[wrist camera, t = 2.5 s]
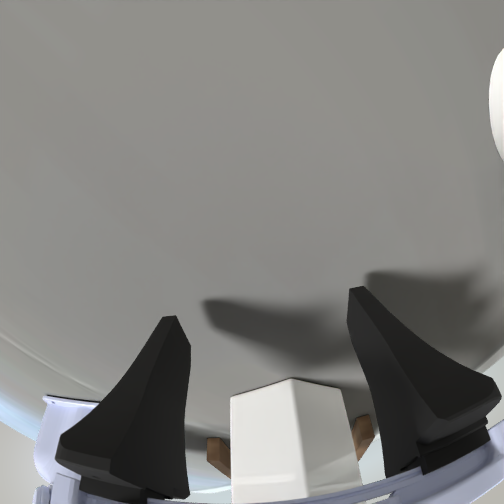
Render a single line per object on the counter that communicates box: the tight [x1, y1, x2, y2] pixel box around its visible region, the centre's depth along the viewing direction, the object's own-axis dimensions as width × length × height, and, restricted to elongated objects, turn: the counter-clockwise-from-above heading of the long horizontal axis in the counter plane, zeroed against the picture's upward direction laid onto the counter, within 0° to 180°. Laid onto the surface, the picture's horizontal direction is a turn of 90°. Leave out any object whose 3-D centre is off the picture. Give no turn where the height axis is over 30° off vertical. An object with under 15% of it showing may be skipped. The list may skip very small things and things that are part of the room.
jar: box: [230, 379, 366, 504], centre depth 15 cm, size 9×8×12 cm
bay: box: [207, 415, 375, 479], centre depth 26 cm, size 15×15×2 cm
